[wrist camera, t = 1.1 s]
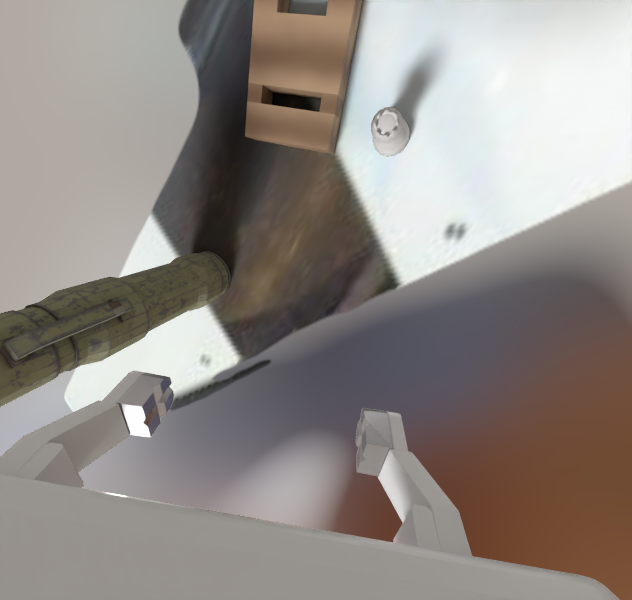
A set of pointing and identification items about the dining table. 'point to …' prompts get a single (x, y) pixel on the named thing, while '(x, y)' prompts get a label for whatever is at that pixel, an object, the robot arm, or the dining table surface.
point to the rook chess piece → (389, 131)
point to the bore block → (300, 72)
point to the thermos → (100, 319)
